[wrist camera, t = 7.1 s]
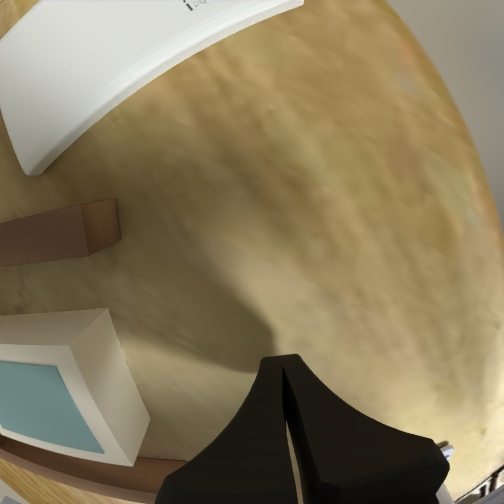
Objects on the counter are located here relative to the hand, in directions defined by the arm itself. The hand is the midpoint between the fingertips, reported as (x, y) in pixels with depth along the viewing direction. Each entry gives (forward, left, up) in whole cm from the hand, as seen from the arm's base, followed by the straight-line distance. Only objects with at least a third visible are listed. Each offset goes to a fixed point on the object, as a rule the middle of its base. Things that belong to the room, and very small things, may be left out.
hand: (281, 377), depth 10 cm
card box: (0, +11, -1) cm, 11 cm away
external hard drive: (+15, +5, -2) cm, 16 cm away
